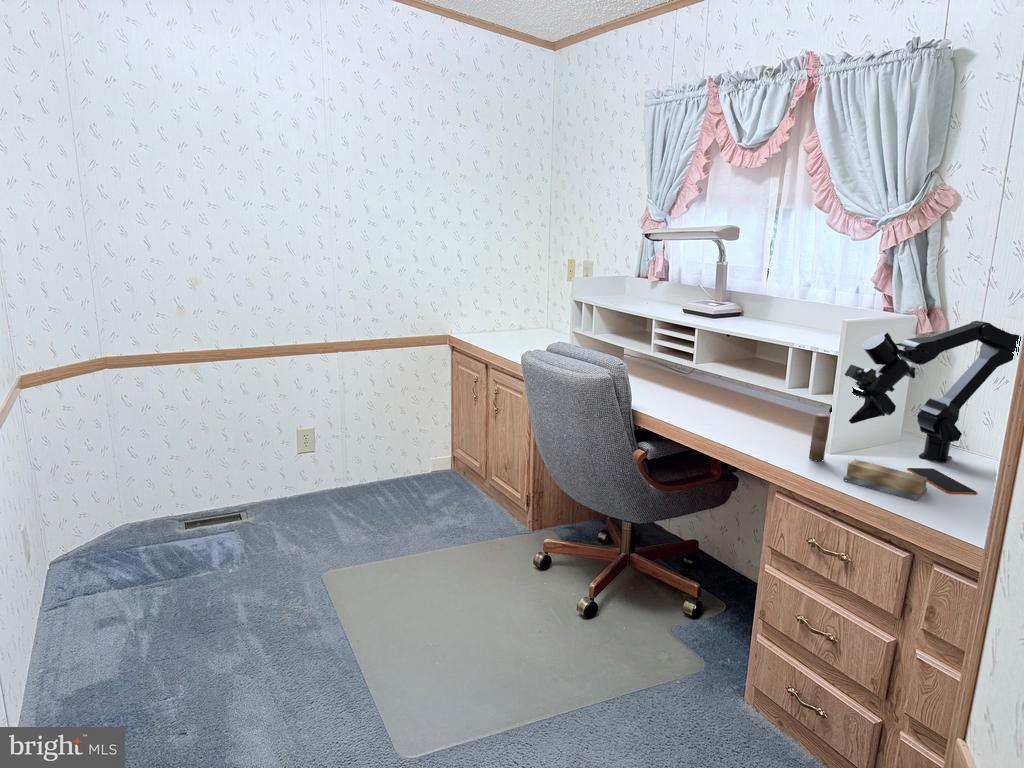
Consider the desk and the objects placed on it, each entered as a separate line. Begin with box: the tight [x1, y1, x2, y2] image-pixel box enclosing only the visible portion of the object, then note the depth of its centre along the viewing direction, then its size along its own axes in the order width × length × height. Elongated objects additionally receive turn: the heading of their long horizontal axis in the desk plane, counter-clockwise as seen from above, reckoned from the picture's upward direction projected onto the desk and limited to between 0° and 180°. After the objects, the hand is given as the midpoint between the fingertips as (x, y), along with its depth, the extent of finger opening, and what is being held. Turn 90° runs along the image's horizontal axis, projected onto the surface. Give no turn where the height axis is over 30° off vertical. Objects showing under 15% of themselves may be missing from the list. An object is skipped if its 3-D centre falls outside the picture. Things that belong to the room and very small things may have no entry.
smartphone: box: [906, 467, 979, 495], centre depth 167 cm, size 8×17×1 cm, turn 2°
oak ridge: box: [842, 459, 928, 501], centre depth 162 cm, size 16×8×4 cm, turn 44°
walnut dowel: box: [808, 413, 831, 462], centre depth 179 cm, size 4×4×12 cm
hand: (839, 417), depth 178 cm, fingers open, 9 cm apart
